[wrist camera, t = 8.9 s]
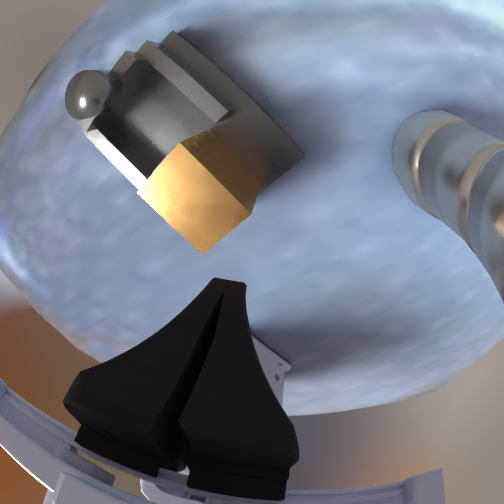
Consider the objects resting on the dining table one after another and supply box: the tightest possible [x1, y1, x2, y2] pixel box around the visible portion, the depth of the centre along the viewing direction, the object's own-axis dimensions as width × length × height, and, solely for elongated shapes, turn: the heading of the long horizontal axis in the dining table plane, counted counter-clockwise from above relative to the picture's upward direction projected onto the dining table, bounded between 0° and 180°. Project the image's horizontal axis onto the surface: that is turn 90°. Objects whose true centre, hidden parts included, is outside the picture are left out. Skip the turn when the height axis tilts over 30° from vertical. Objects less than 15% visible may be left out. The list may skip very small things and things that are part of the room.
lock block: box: [137, 130, 261, 254], centre depth 15 cm, size 5×4×5 cm
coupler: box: [65, 31, 305, 194], centre depth 14 cm, size 13×10×6 cm
